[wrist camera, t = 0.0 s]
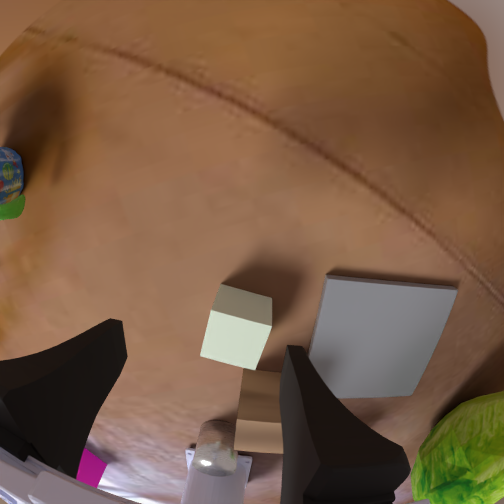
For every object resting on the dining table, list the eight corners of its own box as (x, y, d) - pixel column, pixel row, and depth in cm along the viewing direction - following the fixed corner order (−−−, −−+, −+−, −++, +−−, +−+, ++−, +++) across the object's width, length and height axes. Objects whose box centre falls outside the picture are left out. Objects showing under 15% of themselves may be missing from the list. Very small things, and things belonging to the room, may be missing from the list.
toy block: (78, 441, 34) (60, 474, 26) (107, 463, 35) (92, 496, 28) (48, 448, 37) (32, 473, 30) (72, 467, 39) (59, 493, 31)
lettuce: (531, 375, 25) (578, 439, 11) (411, 463, 31) (433, 542, 16) (528, 314, 22) (602, 390, 7) (375, 430, 27) (403, 541, 13)
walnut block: (285, 405, 26) (287, 453, 21) (239, 401, 26) (233, 449, 21) (294, 373, 25) (297, 424, 19) (243, 368, 25) (236, 419, 19)
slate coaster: (409, 390, 25) (411, 395, 24) (297, 391, 26) (298, 397, 25) (453, 286, 21) (458, 290, 21) (325, 274, 22) (327, 278, 21)
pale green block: (257, 338, 24) (254, 370, 20) (210, 325, 24) (199, 355, 20) (272, 297, 23) (272, 326, 19) (220, 283, 22) (211, 309, 19)
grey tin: (238, 444, 29) (234, 478, 24) (201, 438, 29) (193, 472, 24) (241, 422, 28) (237, 460, 23) (200, 417, 28) (190, 453, 23)
